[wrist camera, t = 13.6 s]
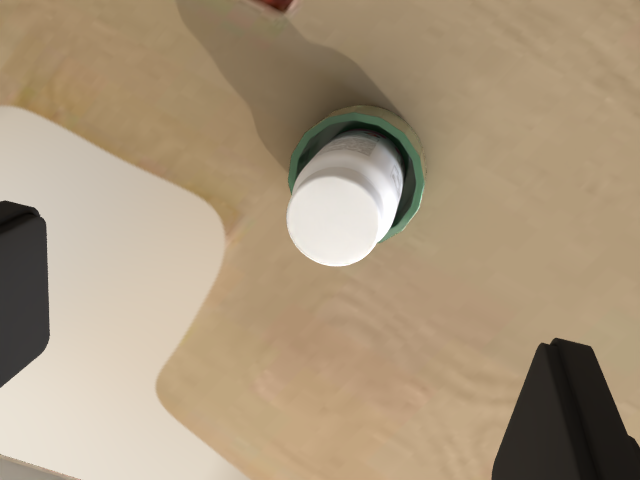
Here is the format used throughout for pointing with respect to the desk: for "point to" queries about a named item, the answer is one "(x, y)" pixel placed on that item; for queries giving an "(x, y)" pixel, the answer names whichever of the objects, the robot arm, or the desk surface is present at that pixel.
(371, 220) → the pill bottle
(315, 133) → the green round container
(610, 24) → the desk surface
